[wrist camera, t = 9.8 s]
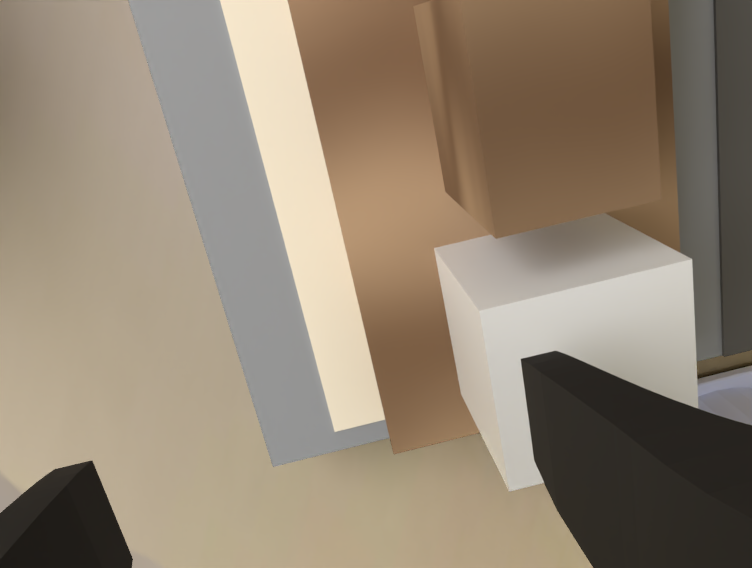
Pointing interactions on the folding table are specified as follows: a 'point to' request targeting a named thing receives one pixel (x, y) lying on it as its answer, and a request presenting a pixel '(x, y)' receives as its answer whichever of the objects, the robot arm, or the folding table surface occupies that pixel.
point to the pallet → (411, 201)
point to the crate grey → (564, 320)
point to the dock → (320, 220)
